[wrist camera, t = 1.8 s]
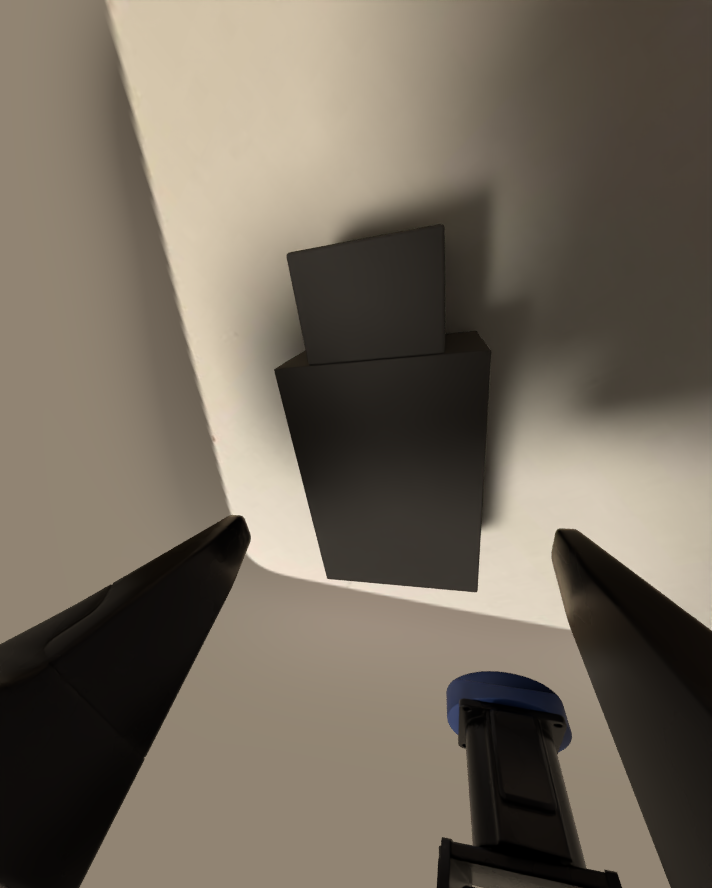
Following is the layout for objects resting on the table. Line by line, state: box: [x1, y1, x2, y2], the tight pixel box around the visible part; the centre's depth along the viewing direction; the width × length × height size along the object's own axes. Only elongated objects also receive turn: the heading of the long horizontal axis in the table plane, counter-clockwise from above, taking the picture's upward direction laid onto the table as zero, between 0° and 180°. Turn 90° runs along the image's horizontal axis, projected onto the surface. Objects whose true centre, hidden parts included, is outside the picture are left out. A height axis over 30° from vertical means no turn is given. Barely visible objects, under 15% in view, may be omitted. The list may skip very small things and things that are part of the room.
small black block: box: [274, 224, 491, 592], centre depth 11 cm, size 6×12×3 cm, turn 8°
